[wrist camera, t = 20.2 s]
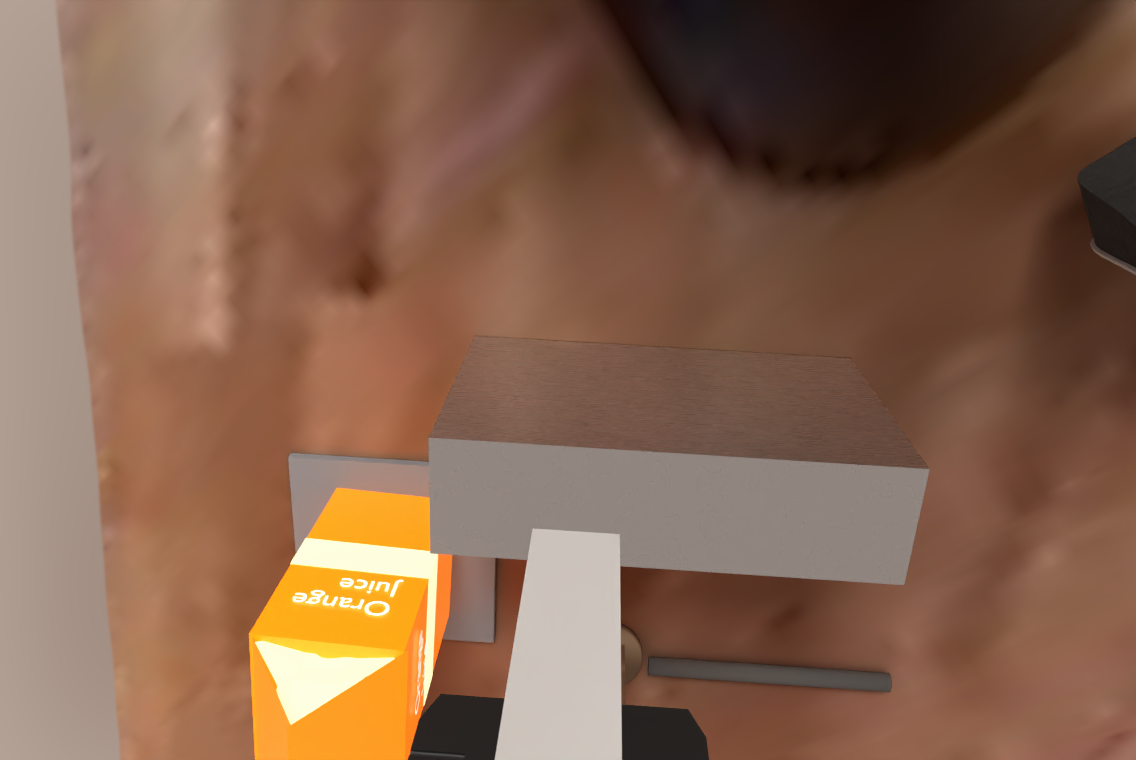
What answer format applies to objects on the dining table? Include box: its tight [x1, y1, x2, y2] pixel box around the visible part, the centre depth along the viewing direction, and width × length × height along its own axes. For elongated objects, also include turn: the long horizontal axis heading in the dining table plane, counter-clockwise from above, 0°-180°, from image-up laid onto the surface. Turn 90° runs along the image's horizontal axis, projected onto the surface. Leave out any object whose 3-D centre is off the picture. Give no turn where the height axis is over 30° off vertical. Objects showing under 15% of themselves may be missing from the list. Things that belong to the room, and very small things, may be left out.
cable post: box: [621, 624, 642, 705], centre depth 53 cm, size 5×5×16 cm
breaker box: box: [429, 336, 930, 585], centre depth 47 cm, size 7×22×14 cm, turn 87°
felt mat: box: [288, 453, 496, 643], centre depth 58 cm, size 13×13×1 cm
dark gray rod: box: [648, 657, 892, 692], centre depth 60 cm, size 1×16×1 cm, turn 87°
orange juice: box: [249, 488, 452, 760], centre depth 48 cm, size 8×9×20 cm
